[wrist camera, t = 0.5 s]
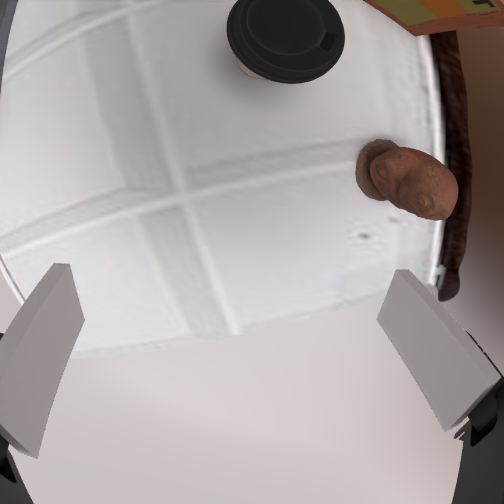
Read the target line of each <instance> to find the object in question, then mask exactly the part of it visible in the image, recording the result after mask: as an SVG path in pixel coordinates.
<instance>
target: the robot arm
mask: <svg viewBox="0 0 504 504" xmlns="http://www.w3.org/2000/svg"><path fill="white" fill-rule="evenodd" d="M377 320H378V322H379V324H380V325H381V327H382V328H383V330H384V331H385V333H386V334H387V336H388V338H389V339H390V341H391V342H392V344H393V345H394V347H395V349H396V350H397V352H398V353H399V355H400V356H401V358H402V359H403V361H404V363H405V364H406V366H407V367H408V369H409V371H410V372H411V374H412V376H413V377H414V379H415V381H416V382H417V384H418V386H419V387H420V389H421V391H422V392H423V394H424V396H425V398H426V399H427V401H428V403H429V405H430V406H431V408H432V410H433V411H434V413H435V415H436V417H437V419H438V421H439V422H440V424H441V426H442V428H443V430H444V431H445V432H446V431H448V430H450V429H452V428H454V427H456V426H458V425H459V424H460V423H461V422H462V421H463V420H464V419H465V418H466V417H467V416H468V418H469V419H470V420H469V421H468V422H467V423H466V424H465V425H464V426H463V427H462V428H461V429H460V430H459V431H458V432H457V433H456V434H455V436H454V438H455V439H456V438H457V437H458V436H460V435H461V434H462V433H463V432H464V431H465V433H464V434H463V435H462V436H461V437H460V438H459V440H462V441H463V450H462V456H461V462H460V468H459V473H458V478H457V483H456V488H455V492H454V497H453V500H452V504H504V377H503V375H502V374H501V373H500V371H499V370H498V369H497V367H496V366H495V365H494V363H493V362H492V361H491V359H490V358H489V357H488V356H487V354H486V353H485V352H483V349H482V348H481V347H480V346H479V345H477V344H478V343H477V342H476V341H475V340H474V338H473V337H472V336H471V335H470V334H469V333H468V332H466V331H465V330H464V329H463V328H462V327H461V325H459V323H458V322H457V321H456V320H455V319H454V318H453V316H452V315H451V314H450V313H449V312H448V311H447V310H446V309H445V308H444V306H443V305H442V304H441V303H440V302H439V301H438V300H437V299H436V297H435V296H434V295H433V294H432V293H431V292H430V291H429V290H428V289H427V288H426V287H425V286H424V285H423V284H422V283H421V282H420V281H419V280H418V279H417V278H416V276H415V275H414V274H413V273H412V272H411V271H410V270H396V271H395V274H394V276H393V279H392V282H391V284H390V287H389V290H388V292H387V295H386V297H385V300H384V303H383V305H382V308H381V310H380V313H379V315H378V318H377ZM84 321H85V319H84V315H83V312H82V309H81V305H80V302H79V298H78V295H77V291H76V287H75V283H74V279H73V275H72V271H71V267H70V264H62V263H54V264H53V265H52V266H51V268H50V269H49V270H48V271H47V273H46V274H45V275H44V277H43V278H42V279H41V281H40V282H39V283H38V285H37V286H36V287H35V289H34V290H33V291H32V293H31V294H30V296H29V297H28V299H27V300H26V301H25V303H24V304H23V306H22V307H21V309H20V310H19V312H18V313H17V315H16V316H15V318H14V319H13V321H12V322H11V324H10V326H9V327H8V329H7V330H6V332H5V334H3V333H0V504H34V503H33V501H32V499H31V498H30V495H29V494H28V492H27V489H26V487H25V485H24V483H23V481H22V479H21V477H20V475H19V472H18V469H17V467H16V465H15V462H14V460H13V457H12V455H11V453H10V452H9V450H8V446H9V444H11V445H12V446H13V447H14V448H15V449H16V450H17V451H18V452H20V453H23V454H26V455H28V456H31V457H33V458H36V459H37V458H38V454H39V450H40V446H41V441H42V438H43V434H44V431H45V427H46V424H47V420H48V417H49V413H50V410H51V407H52V404H53V401H54V398H55V395H56V392H57V389H58V386H59V383H60V380H61V378H62V375H63V372H64V369H65V367H66V364H67V362H68V359H69V357H70V354H71V352H72V349H73V347H74V344H75V342H76V339H77V337H78V335H79V332H80V330H81V328H82V326H83V323H84Z"/></svg>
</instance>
